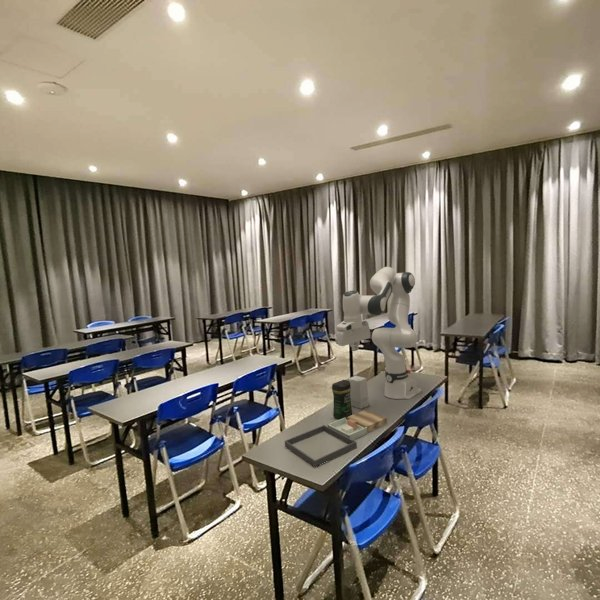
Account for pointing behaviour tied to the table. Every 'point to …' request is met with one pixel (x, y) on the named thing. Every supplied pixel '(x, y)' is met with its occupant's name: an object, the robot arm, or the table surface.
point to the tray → (354, 435)
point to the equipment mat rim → (327, 457)
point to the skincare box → (358, 392)
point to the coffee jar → (342, 399)
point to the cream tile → (347, 429)
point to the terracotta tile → (352, 424)
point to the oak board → (368, 420)
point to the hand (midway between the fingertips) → (355, 350)
